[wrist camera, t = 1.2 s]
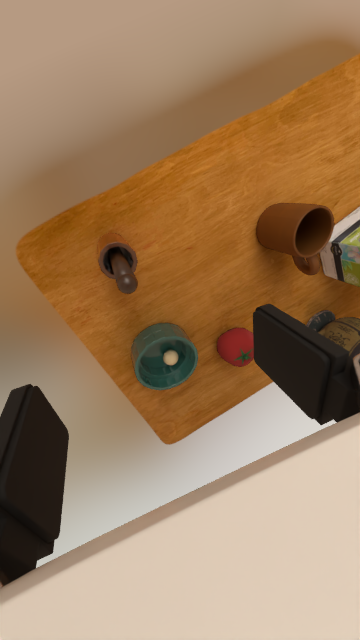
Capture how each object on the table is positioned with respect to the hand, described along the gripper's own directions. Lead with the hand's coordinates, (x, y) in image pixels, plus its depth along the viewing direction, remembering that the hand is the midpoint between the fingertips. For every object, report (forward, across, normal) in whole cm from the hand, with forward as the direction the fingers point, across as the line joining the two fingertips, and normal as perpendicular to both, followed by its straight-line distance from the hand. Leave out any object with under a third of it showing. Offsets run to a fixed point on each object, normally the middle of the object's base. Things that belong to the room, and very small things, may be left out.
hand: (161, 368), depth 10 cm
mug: (+30, -29, +5) cm, 42 cm away
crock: (+30, 0, 0) cm, 30 cm away
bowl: (+30, -3, +21) cm, 37 cm away
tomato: (+30, -18, +24) cm, 43 cm away
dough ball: (+28, -4, +22) cm, 36 cm away
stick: (+30, 0, 0) cm, 30 cm away
